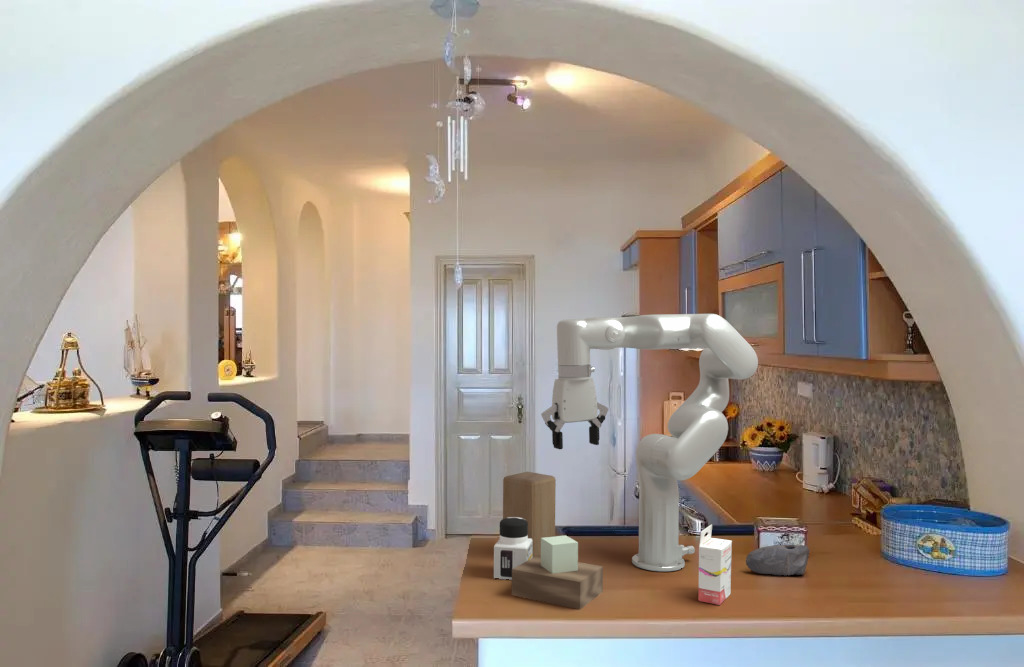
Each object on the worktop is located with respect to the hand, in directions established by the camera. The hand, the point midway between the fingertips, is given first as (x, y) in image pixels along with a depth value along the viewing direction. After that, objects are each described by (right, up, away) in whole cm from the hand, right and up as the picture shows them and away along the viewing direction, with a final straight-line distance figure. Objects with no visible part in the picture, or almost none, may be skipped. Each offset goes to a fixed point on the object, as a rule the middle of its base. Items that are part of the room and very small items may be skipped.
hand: (576, 446), depth 176 cm
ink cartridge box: (+29, -31, -14) cm, 44 cm away
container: (-15, -30, 0) cm, 34 cm away
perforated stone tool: (+48, -31, +2) cm, 57 cm away
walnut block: (-5, -31, -12) cm, 33 cm away
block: (-11, -30, +16) cm, 36 cm away
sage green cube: (-5, -24, -12) cm, 28 cm away
